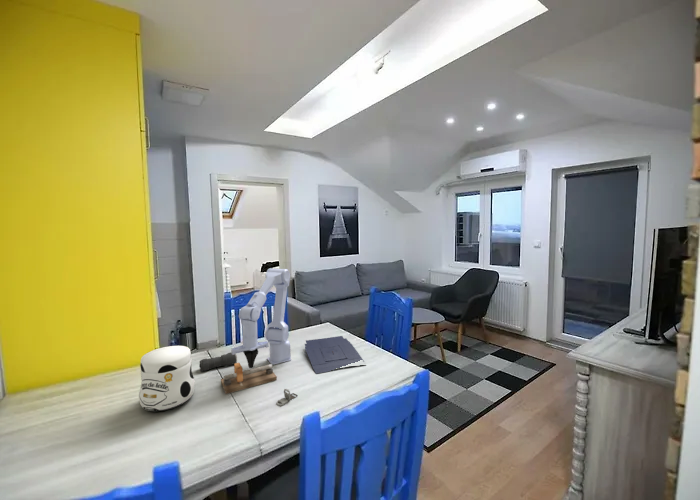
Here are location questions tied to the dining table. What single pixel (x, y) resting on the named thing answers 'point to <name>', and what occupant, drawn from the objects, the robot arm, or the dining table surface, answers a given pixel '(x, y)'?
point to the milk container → (166, 378)
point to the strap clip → (286, 398)
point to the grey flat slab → (331, 353)
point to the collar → (238, 372)
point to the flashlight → (218, 361)
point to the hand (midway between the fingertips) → (250, 367)
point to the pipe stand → (248, 379)
